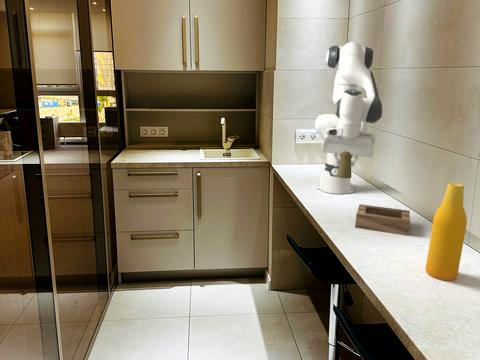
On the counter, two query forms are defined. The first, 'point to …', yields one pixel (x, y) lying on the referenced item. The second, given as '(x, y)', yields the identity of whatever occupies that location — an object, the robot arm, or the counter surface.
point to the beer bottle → (447, 235)
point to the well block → (383, 219)
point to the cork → (345, 165)
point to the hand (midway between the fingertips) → (345, 165)
